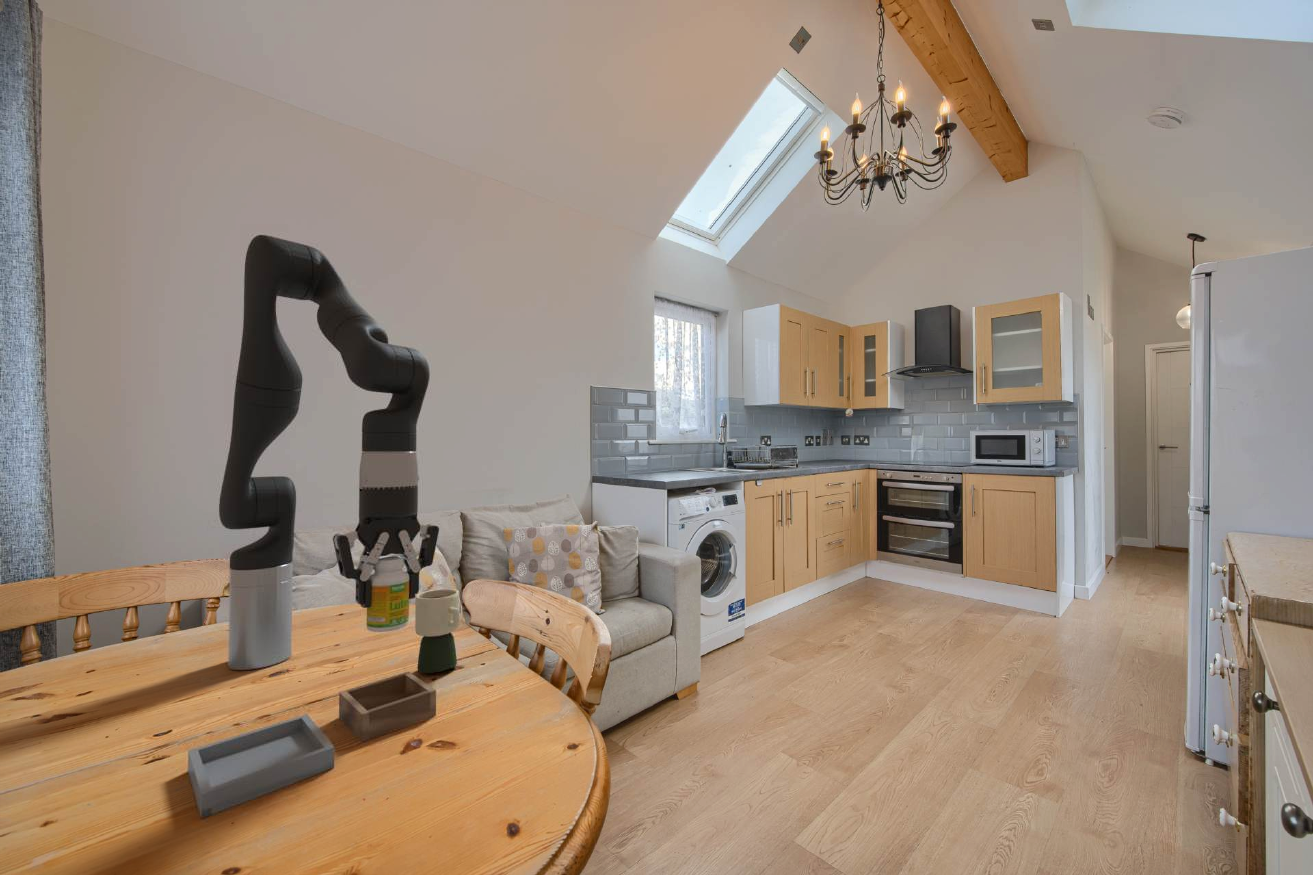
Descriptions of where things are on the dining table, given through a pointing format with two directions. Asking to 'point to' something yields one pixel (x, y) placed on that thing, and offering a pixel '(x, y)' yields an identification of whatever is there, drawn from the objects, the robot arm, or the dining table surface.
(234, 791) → the tray
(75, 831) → the dining table surface
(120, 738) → the dining table surface
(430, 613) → the character mug
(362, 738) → the holder
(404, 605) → the supplement bottle
